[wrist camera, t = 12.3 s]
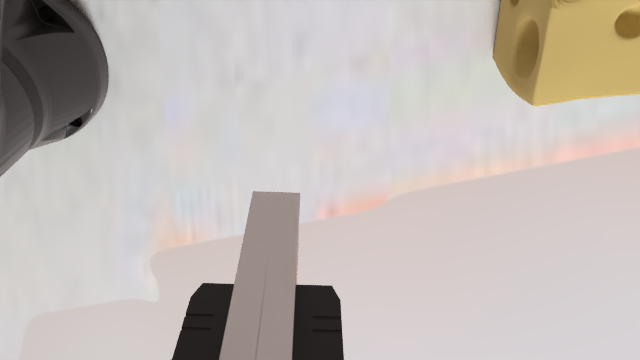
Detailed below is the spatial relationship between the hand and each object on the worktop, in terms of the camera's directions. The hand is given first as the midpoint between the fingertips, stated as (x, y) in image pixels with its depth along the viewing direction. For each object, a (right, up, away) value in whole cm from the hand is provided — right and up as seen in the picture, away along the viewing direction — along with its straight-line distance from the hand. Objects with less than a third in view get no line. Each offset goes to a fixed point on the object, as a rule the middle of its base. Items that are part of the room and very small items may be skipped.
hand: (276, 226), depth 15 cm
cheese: (+22, +17, +25) cm, 37 cm away
